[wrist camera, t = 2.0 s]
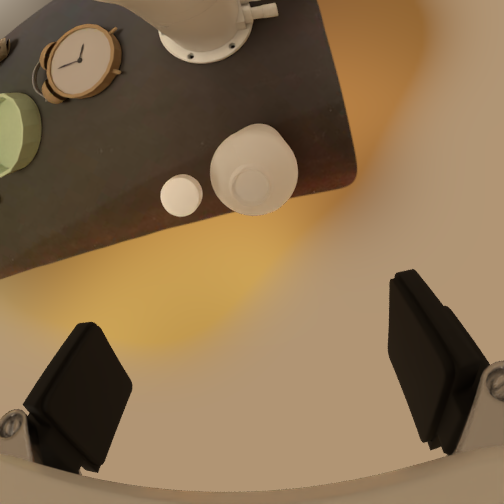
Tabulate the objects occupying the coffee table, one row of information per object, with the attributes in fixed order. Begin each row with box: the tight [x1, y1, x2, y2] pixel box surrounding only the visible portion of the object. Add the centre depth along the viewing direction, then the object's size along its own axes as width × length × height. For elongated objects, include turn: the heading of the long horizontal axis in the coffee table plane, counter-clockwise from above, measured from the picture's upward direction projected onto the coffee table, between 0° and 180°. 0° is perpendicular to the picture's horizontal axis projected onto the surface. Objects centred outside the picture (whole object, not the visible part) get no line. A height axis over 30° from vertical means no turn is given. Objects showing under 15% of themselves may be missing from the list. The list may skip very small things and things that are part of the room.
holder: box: [0, 93, 42, 178], centre depth 38 cm, size 14×14×5 cm
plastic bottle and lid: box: [160, 124, 298, 217], centre depth 30 cm, size 9×6×25 cm
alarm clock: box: [32, 24, 122, 104], centre depth 34 cm, size 11×5×15 cm
